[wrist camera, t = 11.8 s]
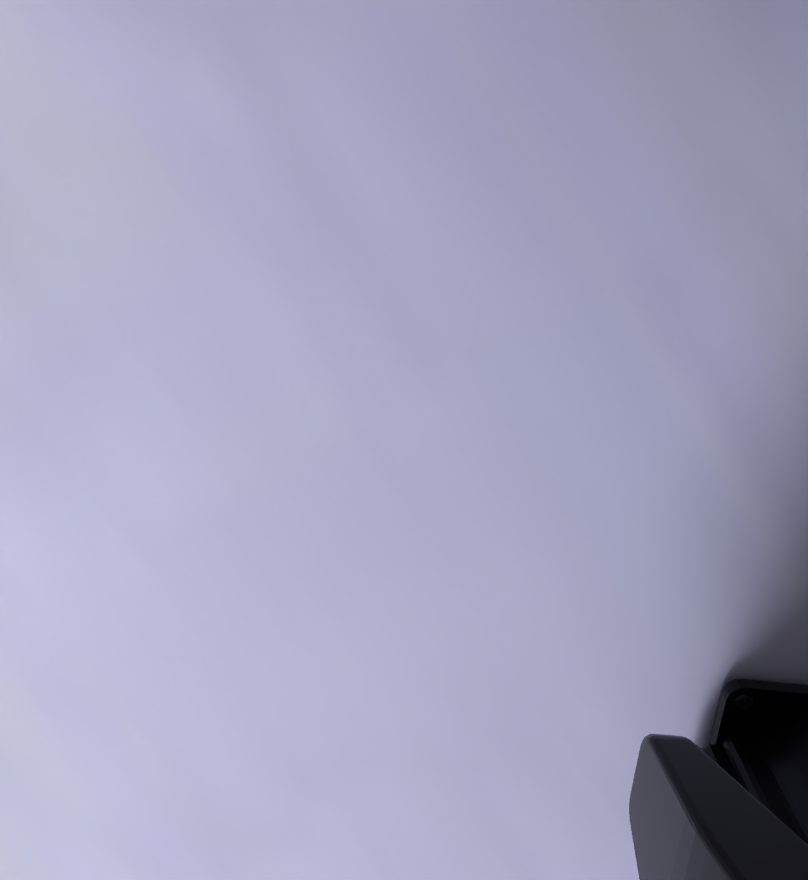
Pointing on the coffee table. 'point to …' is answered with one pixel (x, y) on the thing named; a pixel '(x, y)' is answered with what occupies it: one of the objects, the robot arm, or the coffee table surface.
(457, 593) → the coffee table surface
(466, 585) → the coffee table surface
